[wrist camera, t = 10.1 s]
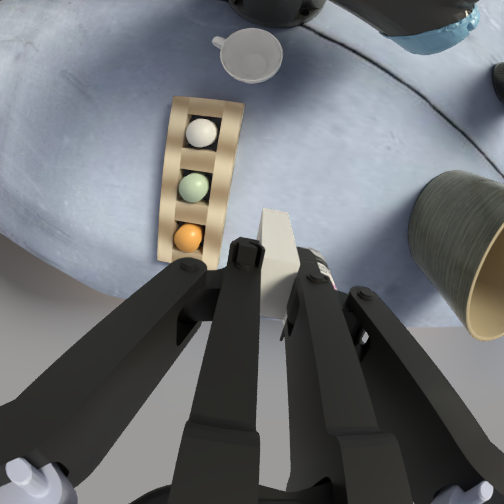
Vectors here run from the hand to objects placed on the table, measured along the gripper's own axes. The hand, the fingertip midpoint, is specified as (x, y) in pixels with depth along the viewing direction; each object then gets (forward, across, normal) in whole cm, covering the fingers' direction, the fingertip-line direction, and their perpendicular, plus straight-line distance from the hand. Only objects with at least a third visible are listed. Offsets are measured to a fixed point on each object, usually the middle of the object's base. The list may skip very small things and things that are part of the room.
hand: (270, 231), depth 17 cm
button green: (+26, -10, -4) cm, 28 cm away
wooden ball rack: (+26, -10, -4) cm, 29 cm away
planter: (+27, +36, -1) cm, 45 cm away
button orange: (+26, -10, -12) cm, 30 cm away
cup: (+27, -6, +16) cm, 32 cm away
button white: (+26, -10, +4) cm, 28 cm away
